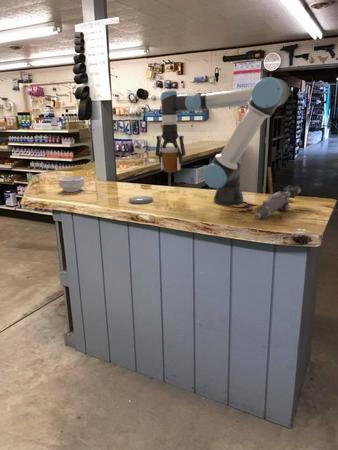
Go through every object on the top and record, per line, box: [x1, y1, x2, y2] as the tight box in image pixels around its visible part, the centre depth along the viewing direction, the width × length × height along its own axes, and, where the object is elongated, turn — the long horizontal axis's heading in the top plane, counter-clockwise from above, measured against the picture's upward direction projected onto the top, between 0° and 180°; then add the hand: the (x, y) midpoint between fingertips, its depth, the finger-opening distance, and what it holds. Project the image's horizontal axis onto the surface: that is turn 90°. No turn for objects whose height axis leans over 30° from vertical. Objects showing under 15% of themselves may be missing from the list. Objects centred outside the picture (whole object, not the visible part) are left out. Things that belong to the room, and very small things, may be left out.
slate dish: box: [128, 195, 154, 205], centre depth 199 cm, size 13×13×1 cm
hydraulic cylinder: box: [254, 184, 302, 220], centre depth 170 cm, size 7×37×10 cm, turn 137°
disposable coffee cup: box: [160, 146, 180, 173], centre depth 188 cm, size 10×10×12 cm
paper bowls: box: [58, 176, 85, 193], centre depth 231 cm, size 15×15×8 cm
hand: (170, 169), depth 189 cm, fingers closed on disposable coffee cup, 8 cm apart
